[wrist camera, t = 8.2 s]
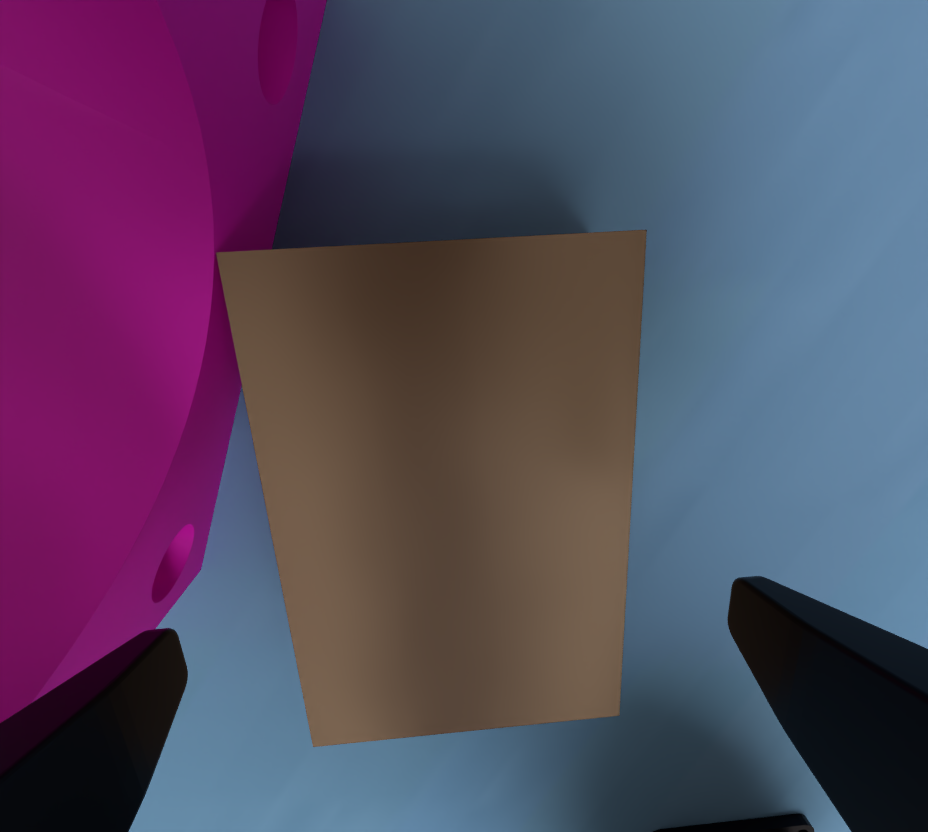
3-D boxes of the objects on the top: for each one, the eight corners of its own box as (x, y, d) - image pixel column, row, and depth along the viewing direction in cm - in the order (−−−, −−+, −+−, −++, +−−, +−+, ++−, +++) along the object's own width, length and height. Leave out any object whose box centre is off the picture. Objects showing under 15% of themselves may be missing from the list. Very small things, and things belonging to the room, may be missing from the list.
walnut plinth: (594, 240, 12) (646, 229, 9) (584, 632, 15) (619, 715, 12) (269, 257, 11) (215, 252, 9) (335, 656, 15) (313, 747, 12)
